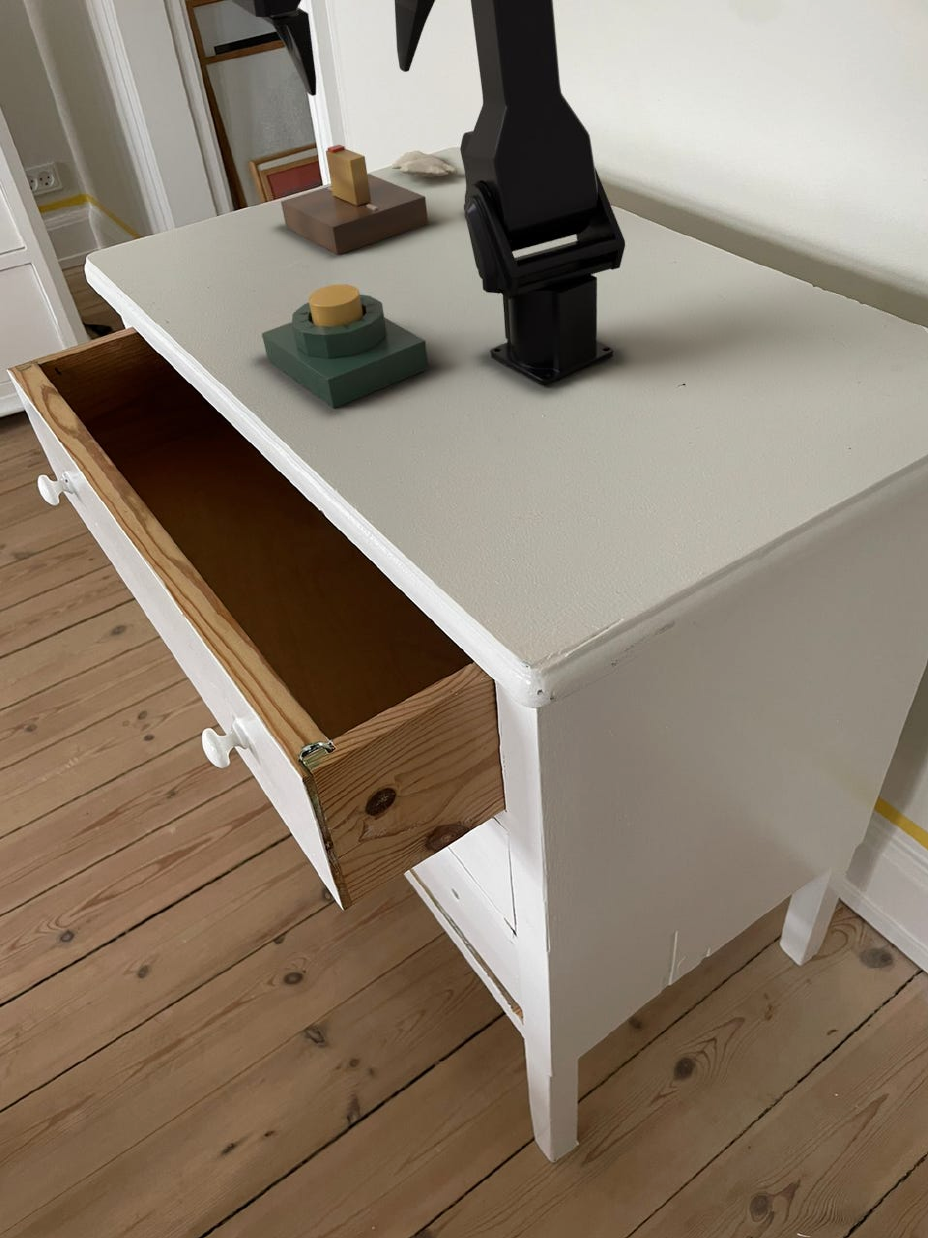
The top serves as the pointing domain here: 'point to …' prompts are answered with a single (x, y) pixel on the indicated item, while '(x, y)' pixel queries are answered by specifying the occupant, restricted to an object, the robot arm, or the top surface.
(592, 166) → the robot arm
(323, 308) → the release button
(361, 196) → the red-tipped wooden block
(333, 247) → the lock plate
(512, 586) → the top surface
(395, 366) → the box
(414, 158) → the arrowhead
